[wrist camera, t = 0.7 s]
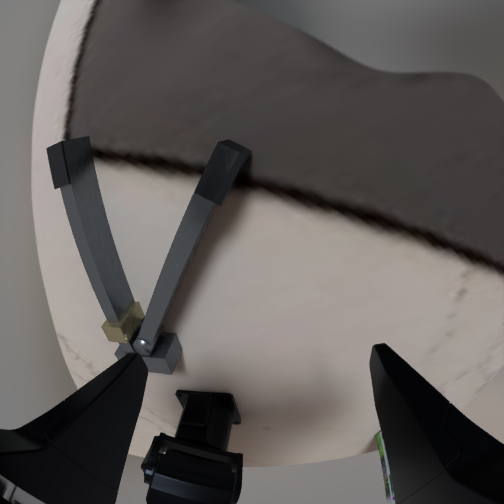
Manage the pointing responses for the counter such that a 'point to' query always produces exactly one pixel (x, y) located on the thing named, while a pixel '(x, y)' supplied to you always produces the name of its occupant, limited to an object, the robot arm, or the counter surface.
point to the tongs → (103, 253)
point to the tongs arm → (191, 235)
